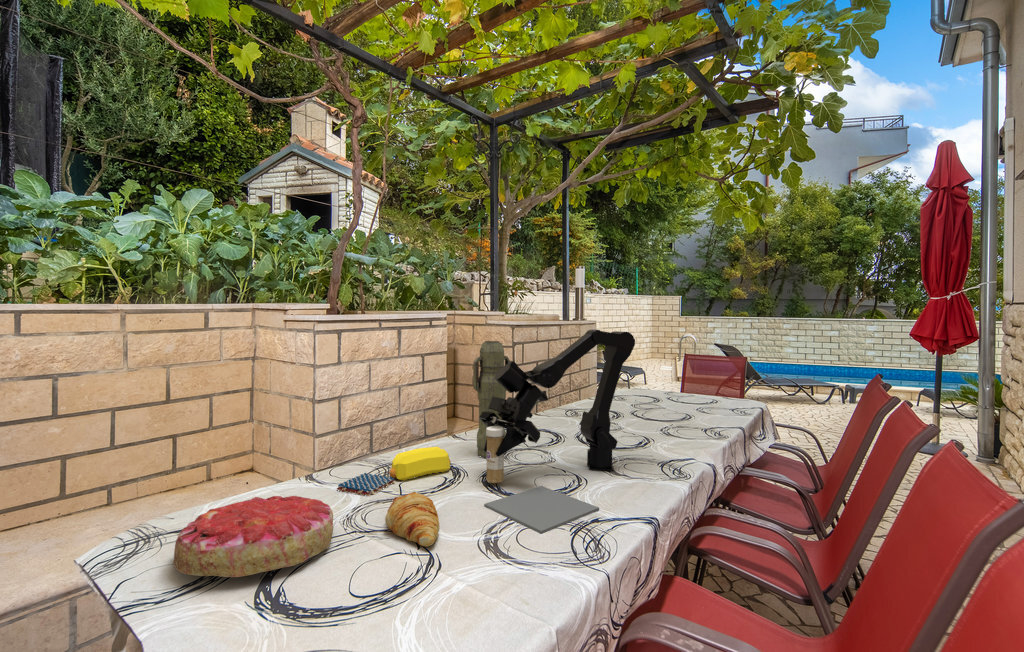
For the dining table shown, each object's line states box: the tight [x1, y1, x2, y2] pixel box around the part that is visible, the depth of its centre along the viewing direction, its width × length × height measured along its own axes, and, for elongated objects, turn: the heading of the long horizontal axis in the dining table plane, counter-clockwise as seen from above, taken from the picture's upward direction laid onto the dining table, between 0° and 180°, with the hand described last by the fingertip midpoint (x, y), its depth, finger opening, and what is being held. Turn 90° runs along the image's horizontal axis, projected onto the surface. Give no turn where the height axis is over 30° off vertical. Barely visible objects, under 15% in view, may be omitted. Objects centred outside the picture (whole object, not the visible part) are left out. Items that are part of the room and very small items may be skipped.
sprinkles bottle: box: [485, 426, 505, 484], centre depth 120 cm, size 5×5×14 cm
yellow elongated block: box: [388, 446, 452, 481], centre depth 128 cm, size 18×7×8 cm
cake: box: [173, 495, 334, 578], centre depth 85 cm, size 25×25×8 cm
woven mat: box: [336, 472, 396, 497], centre depth 118 cm, size 10×11×2 cm
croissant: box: [384, 491, 440, 548], centre depth 94 cm, size 21×10×8 cm, turn 30°
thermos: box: [473, 340, 511, 459], centre depth 146 cm, size 9×12×35 cm
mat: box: [483, 485, 600, 534], centre depth 105 cm, size 18×18×1 cm
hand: (490, 453), depth 119 cm, fingers closed on sprinkles bottle, 4 cm apart
